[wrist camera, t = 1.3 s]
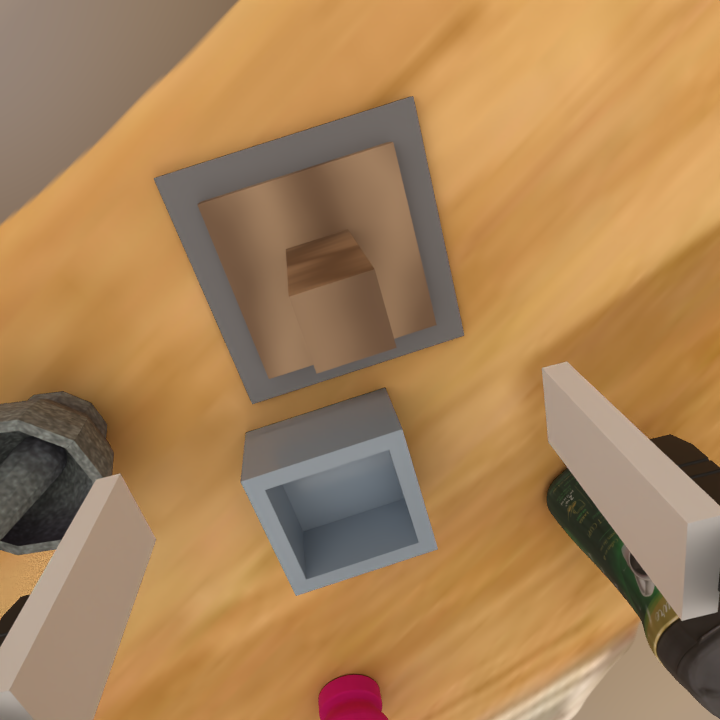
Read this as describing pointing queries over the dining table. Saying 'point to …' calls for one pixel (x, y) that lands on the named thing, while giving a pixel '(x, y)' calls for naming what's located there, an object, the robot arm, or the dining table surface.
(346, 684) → the pepper mill
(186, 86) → the dining table surface
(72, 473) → the mortar and pestle
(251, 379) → the mat
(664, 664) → the coffee jar
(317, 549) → the blue-grey square box
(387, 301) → the lid
